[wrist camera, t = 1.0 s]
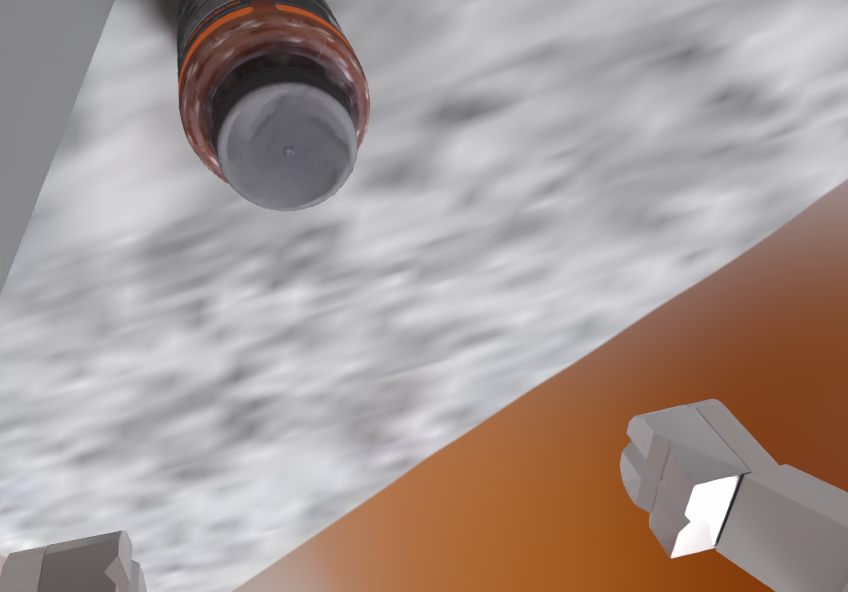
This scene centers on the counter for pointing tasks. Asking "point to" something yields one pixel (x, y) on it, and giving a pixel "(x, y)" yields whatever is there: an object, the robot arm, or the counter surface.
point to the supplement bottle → (271, 97)
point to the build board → (38, 98)
